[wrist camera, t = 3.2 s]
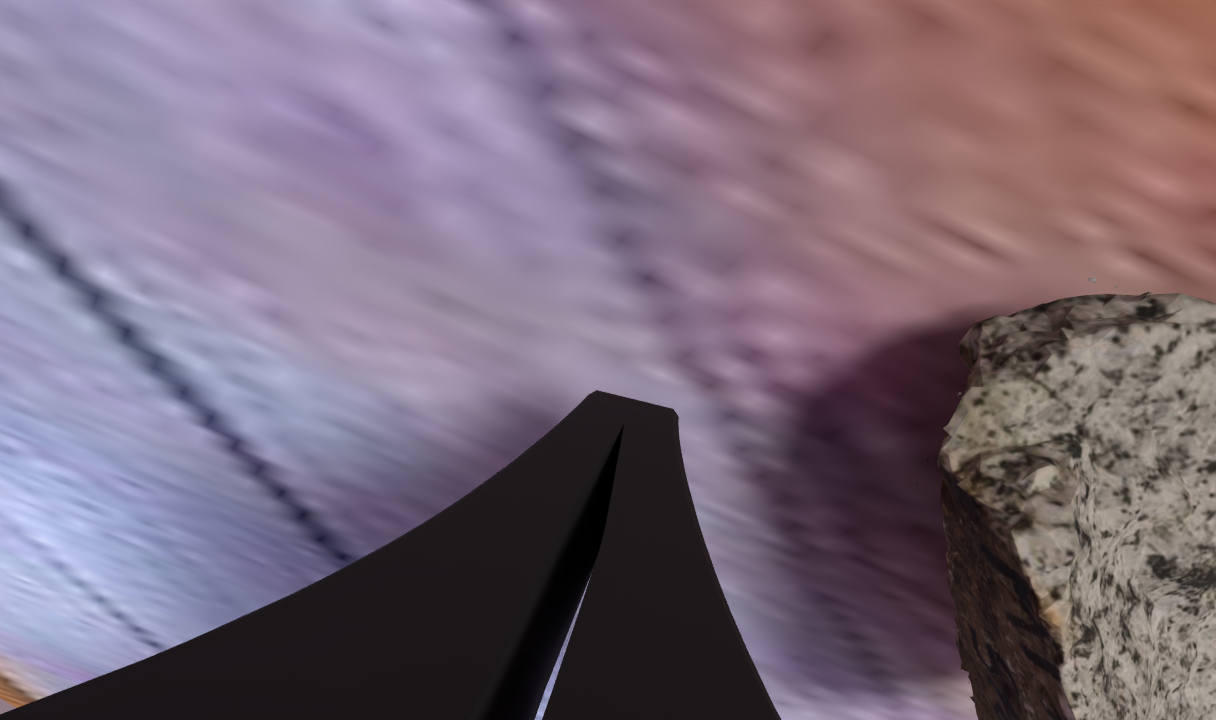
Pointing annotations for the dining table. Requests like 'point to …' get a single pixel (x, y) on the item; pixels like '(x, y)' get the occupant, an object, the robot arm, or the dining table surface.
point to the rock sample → (1086, 510)
